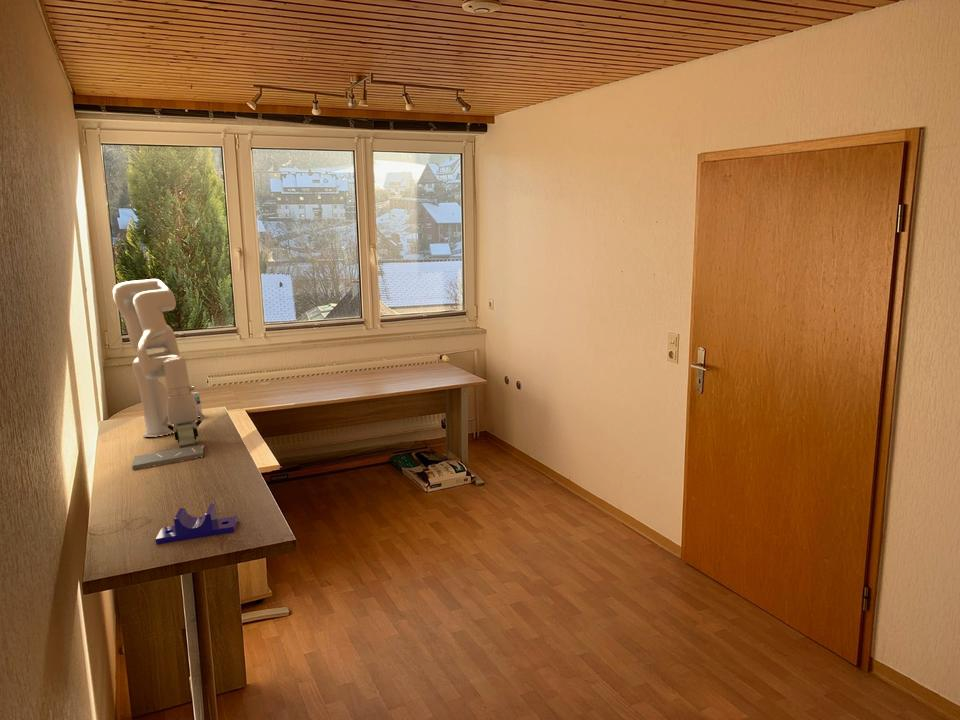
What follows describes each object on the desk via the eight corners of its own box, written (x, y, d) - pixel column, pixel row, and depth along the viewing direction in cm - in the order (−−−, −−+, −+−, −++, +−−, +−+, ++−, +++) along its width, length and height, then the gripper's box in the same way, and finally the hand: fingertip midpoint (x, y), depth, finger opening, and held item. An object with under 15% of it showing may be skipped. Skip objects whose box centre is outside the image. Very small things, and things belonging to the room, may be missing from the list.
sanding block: (180, 443, 262) (177, 422, 261) (195, 440, 264) (191, 420, 263) (180, 449, 254) (177, 427, 252) (195, 446, 256) (192, 425, 254)
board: (135, 460, 245) (134, 456, 244) (204, 448, 253) (204, 443, 252) (132, 470, 234) (132, 465, 233) (205, 456, 242) (205, 452, 241)
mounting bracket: (156, 546, 171) (152, 522, 170) (163, 534, 178) (159, 511, 177) (234, 533, 174) (231, 510, 173) (238, 522, 181) (234, 500, 180)
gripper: (204, 386, 262) (211, 433, 265) (153, 393, 256) (162, 442, 259) (204, 389, 255) (212, 438, 258) (153, 397, 249) (161, 447, 252)
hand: (187, 439), depth 259 cm, fingers closed on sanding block, 5 cm apart
